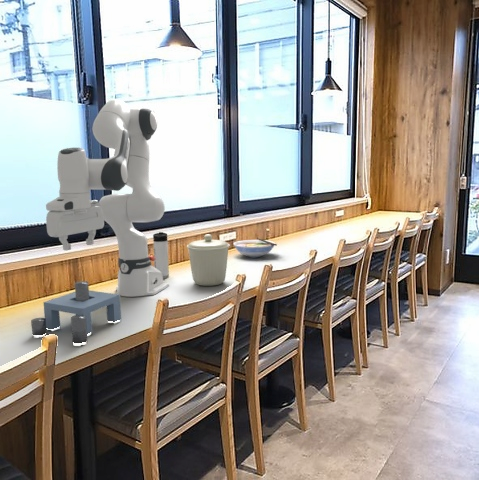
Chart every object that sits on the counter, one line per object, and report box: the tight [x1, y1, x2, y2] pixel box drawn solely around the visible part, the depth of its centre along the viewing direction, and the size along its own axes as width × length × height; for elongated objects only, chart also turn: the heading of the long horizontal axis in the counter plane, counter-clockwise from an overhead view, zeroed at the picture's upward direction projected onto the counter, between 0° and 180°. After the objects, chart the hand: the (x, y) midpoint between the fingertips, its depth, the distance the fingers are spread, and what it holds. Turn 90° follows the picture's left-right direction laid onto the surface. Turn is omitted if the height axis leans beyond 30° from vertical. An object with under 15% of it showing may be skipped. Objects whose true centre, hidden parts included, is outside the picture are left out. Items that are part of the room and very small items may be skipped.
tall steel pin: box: [74, 280, 90, 302], centre depth 146 cm, size 4×4×14 cm
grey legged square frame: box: [43, 289, 122, 334], centre depth 147 cm, size 16×16×9 cm
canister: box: [186, 233, 231, 287], centre depth 196 cm, size 18×18×21 cm
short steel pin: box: [30, 317, 48, 335], centre depth 139 cm, size 4×4×5 cm
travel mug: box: [152, 231, 170, 280], centre depth 208 cm, size 6×7×20 cm
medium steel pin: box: [70, 314, 88, 343], centre depth 132 cm, size 4×4×8 cm
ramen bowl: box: [233, 238, 277, 258], centre depth 253 cm, size 25×23×8 cm
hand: (78, 247), depth 143 cm, fingers open, 8 cm apart
